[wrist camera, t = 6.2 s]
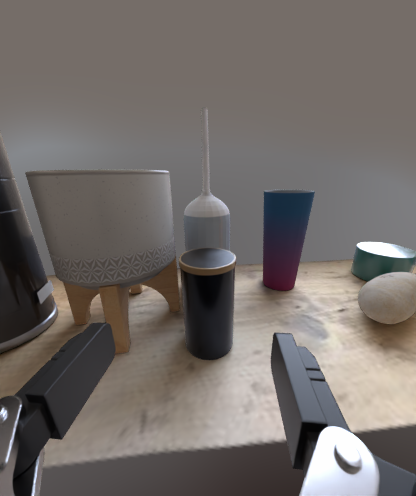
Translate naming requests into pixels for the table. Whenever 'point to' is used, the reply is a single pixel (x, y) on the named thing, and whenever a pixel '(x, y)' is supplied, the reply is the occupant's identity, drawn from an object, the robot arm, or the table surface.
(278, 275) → the cup
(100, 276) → the planter
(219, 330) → the tall tin
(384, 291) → the stone
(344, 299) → the table surface
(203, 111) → the white tall piece
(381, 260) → the squat tin
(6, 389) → the table surface
